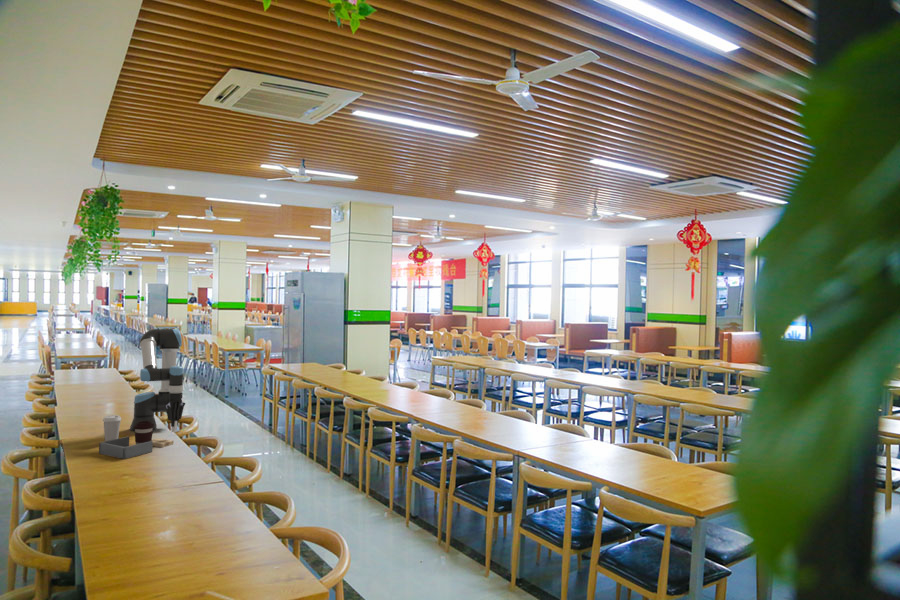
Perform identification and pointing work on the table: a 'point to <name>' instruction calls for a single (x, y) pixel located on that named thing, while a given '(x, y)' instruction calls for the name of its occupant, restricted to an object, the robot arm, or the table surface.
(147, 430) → the coffee cup
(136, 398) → the robot arm
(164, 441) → the board
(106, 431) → the coffee cup
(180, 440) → the table surface
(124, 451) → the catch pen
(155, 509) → the table surface
